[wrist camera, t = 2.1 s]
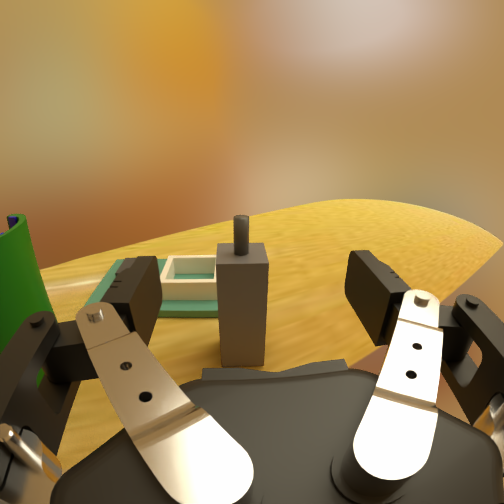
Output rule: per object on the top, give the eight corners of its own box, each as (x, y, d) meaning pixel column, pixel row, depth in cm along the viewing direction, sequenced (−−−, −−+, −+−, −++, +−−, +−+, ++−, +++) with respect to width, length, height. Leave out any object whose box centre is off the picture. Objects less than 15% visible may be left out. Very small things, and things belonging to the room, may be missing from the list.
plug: (221, 366, 27) (214, 226, 21) (222, 336, 31) (216, 208, 25) (263, 365, 27) (270, 225, 21) (259, 335, 31) (263, 207, 25)
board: (85, 313, 33) (78, 290, 31) (117, 264, 45) (114, 245, 44) (240, 317, 34) (239, 291, 32) (237, 263, 47) (237, 243, 45)
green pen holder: (38, 340, 27) (-10, 172, 18) (93, 358, 26) (42, 160, 18) (-8, 395, 18) (-89, 206, 9) (46, 429, 17) (-61, 198, 8)
